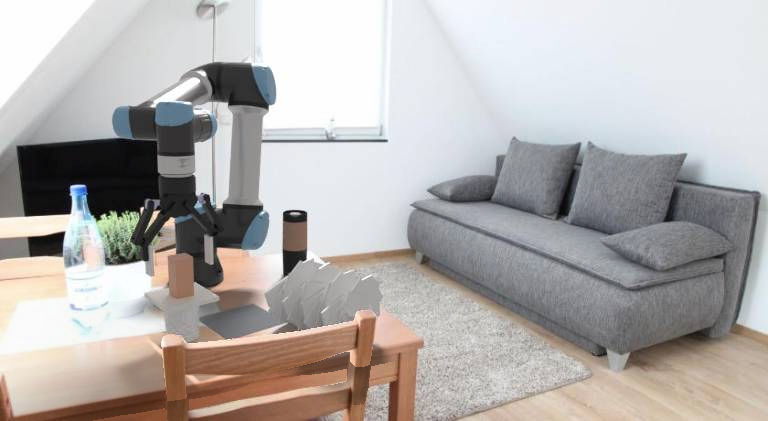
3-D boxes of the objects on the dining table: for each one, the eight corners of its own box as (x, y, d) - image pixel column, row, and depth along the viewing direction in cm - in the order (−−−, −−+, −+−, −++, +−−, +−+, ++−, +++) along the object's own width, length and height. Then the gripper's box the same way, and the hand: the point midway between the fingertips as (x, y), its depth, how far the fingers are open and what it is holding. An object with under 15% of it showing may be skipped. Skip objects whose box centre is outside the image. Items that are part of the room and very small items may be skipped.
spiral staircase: (301, 331, 145) (379, 355, 130) (252, 321, 131) (333, 348, 116) (320, 262, 148) (398, 279, 133) (275, 246, 134) (356, 263, 119)
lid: (144, 297, 126) (142, 254, 124) (195, 286, 134) (194, 245, 132) (166, 313, 117) (164, 268, 115) (219, 300, 125) (218, 258, 123)
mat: (196, 321, 138) (195, 318, 138) (252, 306, 149) (252, 303, 149) (228, 343, 127) (228, 340, 127) (287, 325, 138) (287, 322, 138)
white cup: (189, 349, 123) (188, 307, 121) (157, 345, 125) (155, 303, 123) (207, 335, 131) (206, 294, 129) (177, 330, 132) (175, 291, 130)
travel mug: (294, 268, 181) (295, 208, 177) (311, 273, 177) (312, 212, 173) (277, 274, 175) (277, 212, 171) (294, 279, 171) (295, 216, 167)
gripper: (123, 181, 109) (129, 285, 113) (238, 172, 126) (239, 262, 130) (109, 176, 114) (116, 275, 118) (221, 168, 131) (223, 254, 135)
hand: (180, 268), depth 124 cm, fingers open, 13 cm apart
